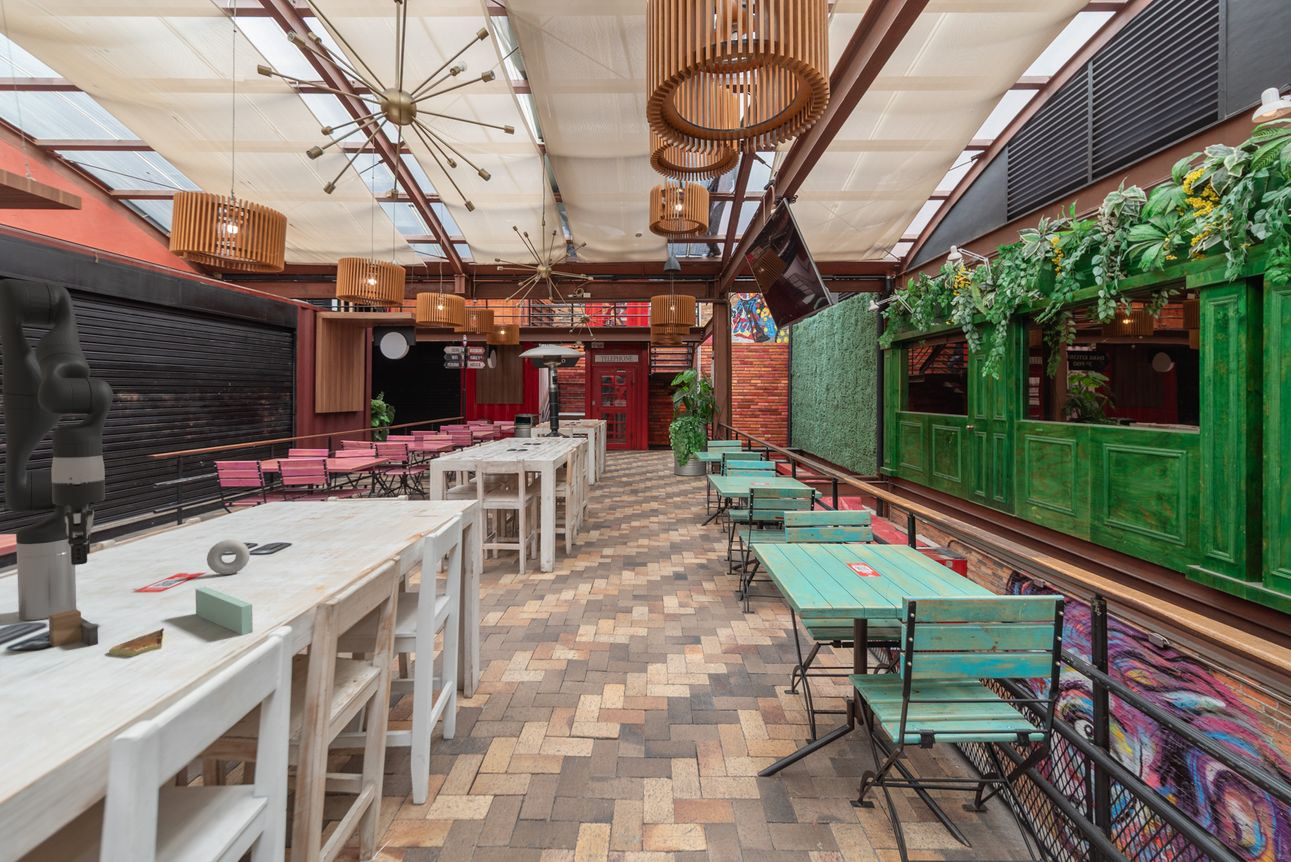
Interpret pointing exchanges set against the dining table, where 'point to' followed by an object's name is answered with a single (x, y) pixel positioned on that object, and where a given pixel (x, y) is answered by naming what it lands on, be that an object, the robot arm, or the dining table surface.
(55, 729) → the dining table surface
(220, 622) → the stop rail
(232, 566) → the donut
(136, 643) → the shard
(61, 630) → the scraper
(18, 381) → the robot arm
